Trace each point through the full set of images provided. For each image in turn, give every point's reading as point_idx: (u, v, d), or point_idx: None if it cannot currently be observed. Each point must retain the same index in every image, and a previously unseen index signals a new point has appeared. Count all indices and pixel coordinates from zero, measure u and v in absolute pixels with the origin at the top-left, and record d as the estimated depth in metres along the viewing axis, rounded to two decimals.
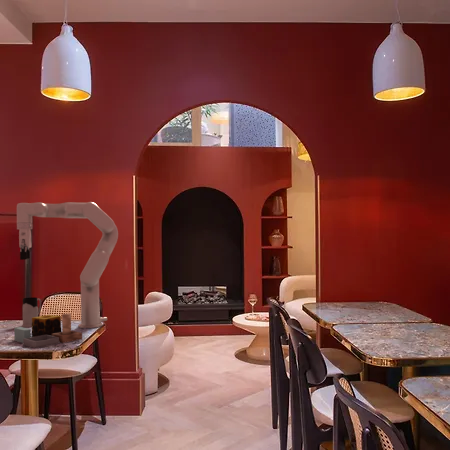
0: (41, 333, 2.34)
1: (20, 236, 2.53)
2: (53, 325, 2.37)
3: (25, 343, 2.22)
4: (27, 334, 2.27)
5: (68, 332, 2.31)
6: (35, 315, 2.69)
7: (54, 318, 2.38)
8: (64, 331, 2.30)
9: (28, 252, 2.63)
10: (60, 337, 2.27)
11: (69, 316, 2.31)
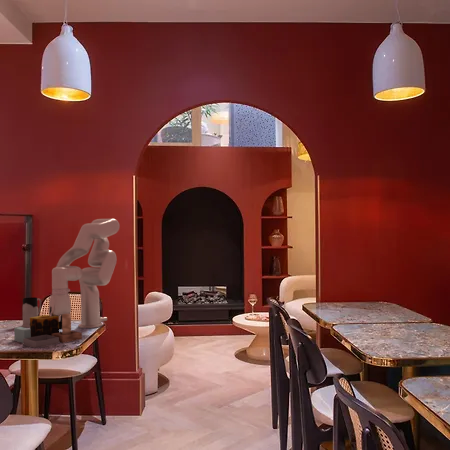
0: (39, 333, 2.33)
1: None
2: (50, 325, 2.36)
3: (25, 343, 2.22)
4: (27, 334, 2.27)
5: (68, 332, 2.31)
6: (35, 315, 2.69)
7: (52, 318, 2.37)
8: (64, 331, 2.30)
9: None
10: (60, 337, 2.27)
11: (69, 316, 2.31)
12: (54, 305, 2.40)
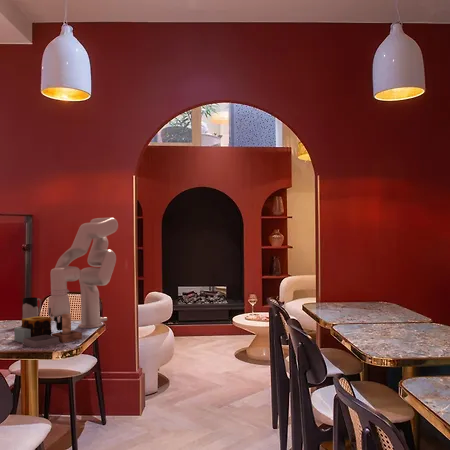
0: None
1: None
2: (42, 327, 2.33)
3: (25, 343, 2.22)
4: (27, 334, 2.27)
5: (68, 332, 2.31)
6: (35, 315, 2.69)
7: (44, 320, 2.34)
8: (64, 331, 2.30)
9: None
10: (60, 337, 2.27)
11: (69, 316, 2.31)
12: (53, 306, 2.40)
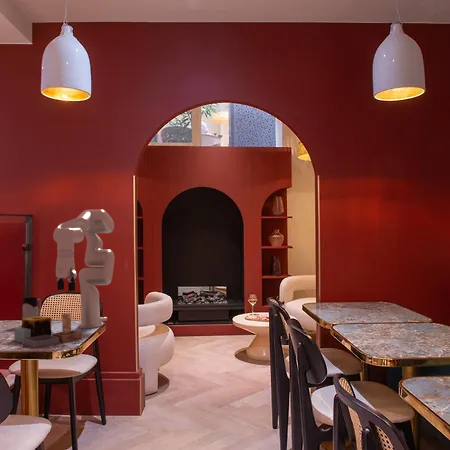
0: None
1: None
2: (42, 327, 2.33)
3: (25, 343, 2.22)
4: (27, 334, 2.27)
5: (68, 332, 2.31)
6: (35, 315, 2.69)
7: (44, 320, 2.34)
8: (64, 331, 2.30)
9: None
10: (60, 337, 2.27)
11: (69, 316, 2.31)
12: None
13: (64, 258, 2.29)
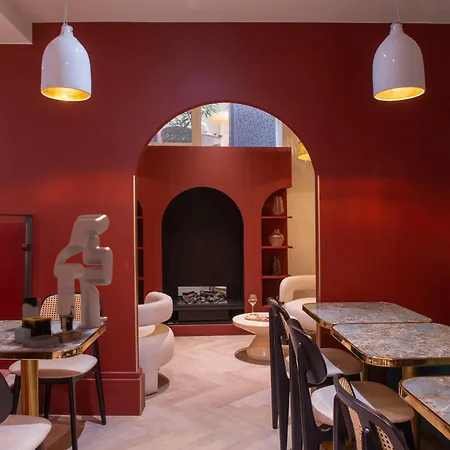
0: None
1: None
2: (42, 327, 2.33)
3: (25, 343, 2.22)
4: (27, 334, 2.27)
5: (68, 332, 2.31)
6: (35, 315, 2.69)
7: (44, 320, 2.34)
8: (64, 331, 2.30)
9: None
10: (60, 337, 2.27)
11: None
12: None
13: (65, 296, 2.29)
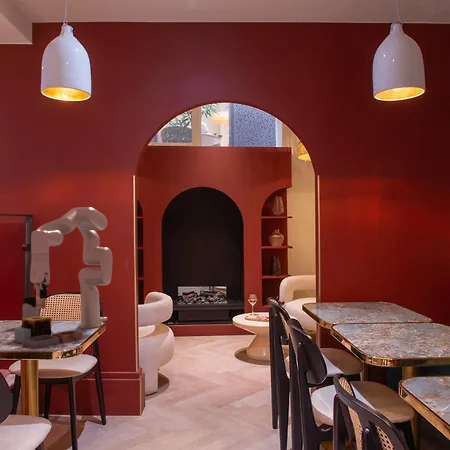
0: None
1: None
2: (42, 327, 2.33)
3: (25, 343, 2.22)
4: (27, 334, 2.27)
5: (42, 300, 2.22)
6: (35, 315, 2.69)
7: (44, 320, 2.34)
8: (38, 299, 2.22)
9: None
10: (60, 337, 2.27)
11: None
12: None
13: (38, 262, 2.20)
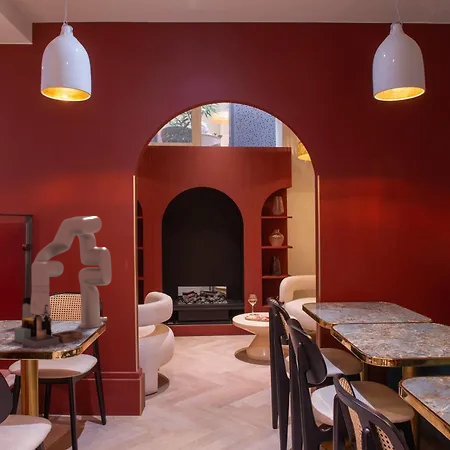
0: None
1: None
2: None
3: (25, 343, 2.22)
4: (27, 334, 2.27)
5: (43, 335, 2.22)
6: None
7: None
8: (38, 334, 2.21)
9: None
10: (60, 337, 2.27)
11: None
12: (49, 302, 2.22)
13: (38, 294, 2.20)
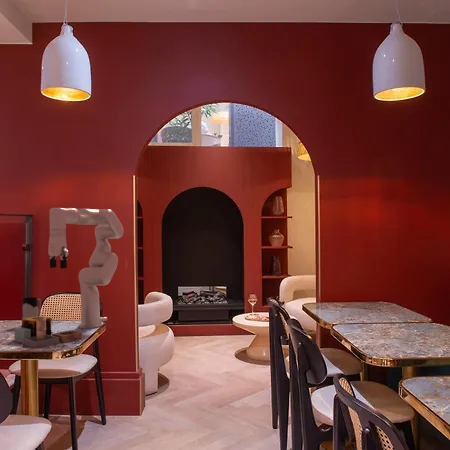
0: None
1: None
2: None
3: (25, 343, 2.22)
4: (27, 334, 2.27)
5: (42, 335, 2.22)
6: (35, 315, 2.69)
7: None
8: (38, 334, 2.21)
9: None
10: (60, 337, 2.27)
11: (44, 318, 2.23)
12: None
13: (56, 237, 2.38)
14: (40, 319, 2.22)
